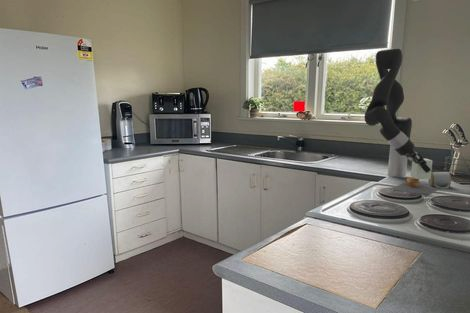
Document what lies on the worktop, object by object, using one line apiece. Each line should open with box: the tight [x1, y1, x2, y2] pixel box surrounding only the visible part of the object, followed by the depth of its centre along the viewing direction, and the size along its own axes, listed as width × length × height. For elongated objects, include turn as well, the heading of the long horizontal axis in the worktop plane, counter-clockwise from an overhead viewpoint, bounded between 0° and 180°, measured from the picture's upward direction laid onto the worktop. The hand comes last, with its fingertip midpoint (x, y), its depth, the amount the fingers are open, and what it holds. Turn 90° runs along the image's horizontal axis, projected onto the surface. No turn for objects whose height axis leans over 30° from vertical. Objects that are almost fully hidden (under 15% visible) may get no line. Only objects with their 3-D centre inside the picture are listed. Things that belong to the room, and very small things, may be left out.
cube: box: [405, 176, 420, 187], centre depth 160 cm, size 4×4×4 cm
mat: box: [389, 182, 441, 197], centre depth 155 cm, size 20×16×1 cm
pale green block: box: [410, 157, 434, 180], centre depth 148 cm, size 6×6×8 cm
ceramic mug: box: [428, 171, 452, 190], centre depth 160 cm, size 11×8×8 cm
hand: (425, 169), depth 148 cm, fingers closed on pale green block, 6 cm apart
